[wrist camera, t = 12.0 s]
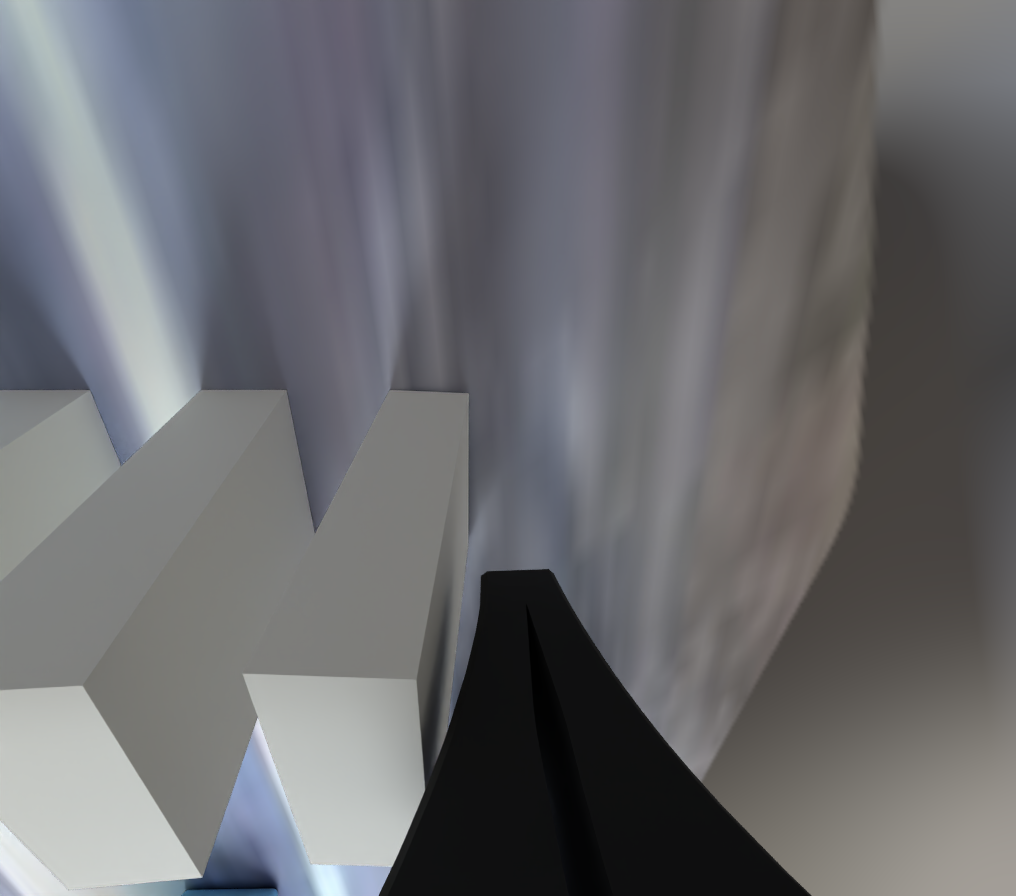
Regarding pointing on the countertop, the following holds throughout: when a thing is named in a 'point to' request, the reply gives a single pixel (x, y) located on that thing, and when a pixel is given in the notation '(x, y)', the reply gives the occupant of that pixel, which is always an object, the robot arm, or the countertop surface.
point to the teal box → (232, 892)
